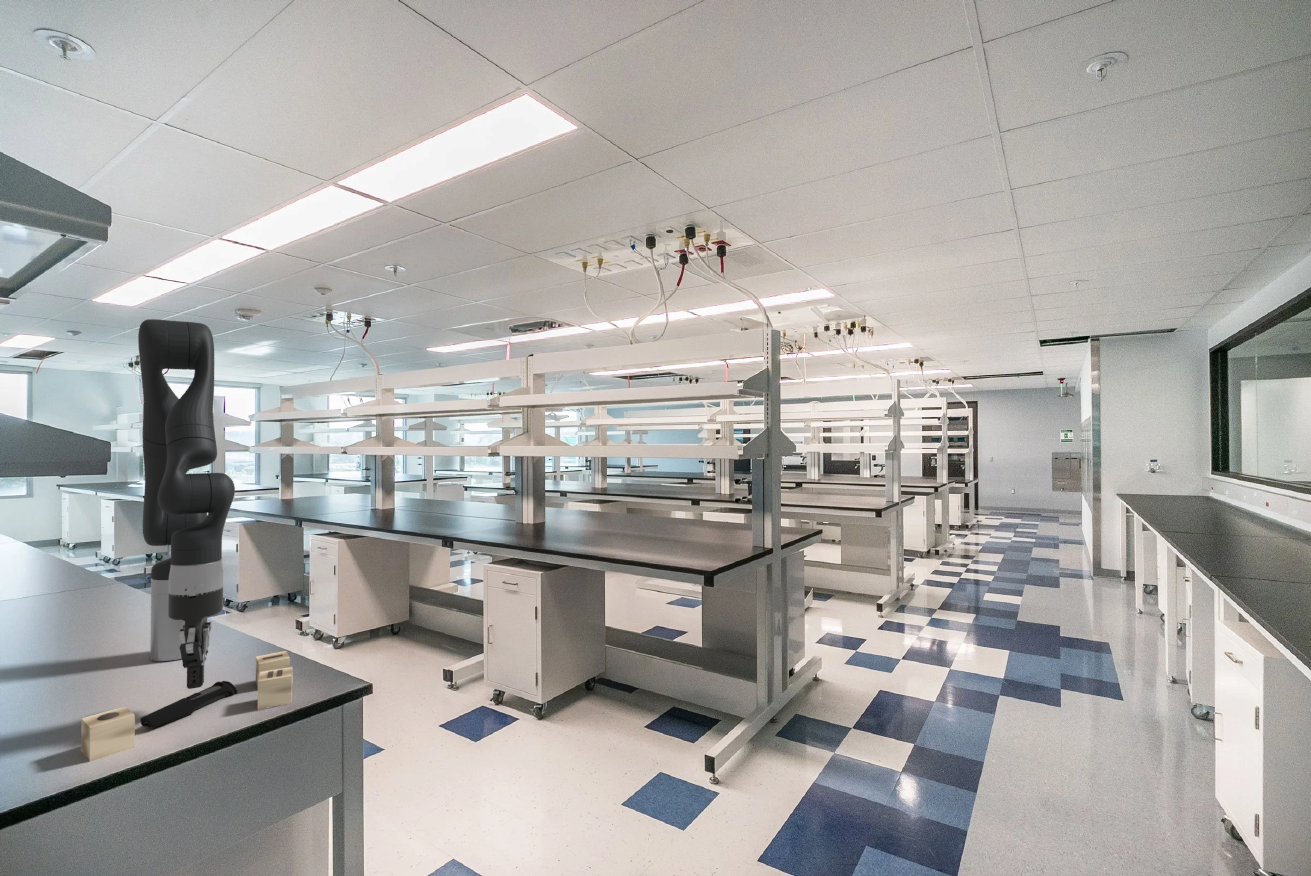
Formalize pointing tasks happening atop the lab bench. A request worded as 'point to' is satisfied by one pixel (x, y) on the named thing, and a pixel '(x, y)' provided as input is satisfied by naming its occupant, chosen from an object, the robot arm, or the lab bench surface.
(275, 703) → the maple block
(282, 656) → the maple block
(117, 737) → the maple block
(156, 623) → the robot arm
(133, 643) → the lab bench surface
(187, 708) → the electric trimmer
